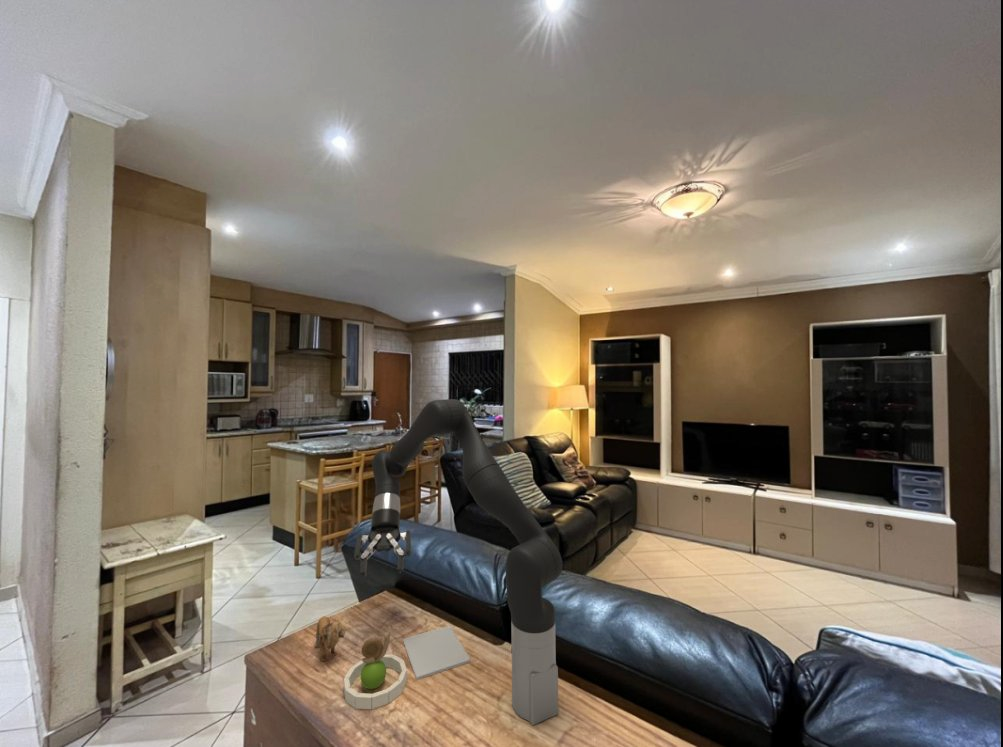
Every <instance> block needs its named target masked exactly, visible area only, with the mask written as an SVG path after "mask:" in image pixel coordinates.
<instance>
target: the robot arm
mask: <svg viewBox="0 0 1003 747" xmlns="http://www.w3.org/2000/svg"><path fill="white" fill-rule="evenodd" d="M450 434H451V435H453V436H454V437H455V439H456V440H457V441H458V443H459V445H460V447H461V450H462V477H463V478H462V479H463V482H464V484H465V486H466V488H467V489H468V491H469V493H470V495H471V496H472V497H473V499H474V500H473V501H475V502H476V504H477V505H478V506H479V507H480V508H481V509H482V510H484V511H485V512H486V513H487V514H489V515H490V516H492V517H493V518H494V519H496V520H497V521H499V522H500V523H502V525H504V526H506V528H508V529H509V531H510V532H511V533H512V534H513V536H514V537H515V539H516V540H517V542H518V545H517V546H514V547H513V548H511V549H510V550H509V552H508V553H507V556H506V559H505V560H506V562H505V582H506V583H505V584H506V596H507V597H506V598H507V599H506V600H507V605H508V608H509V611H510V616H511V617H510V620H511V623H510V624H511V625H510V626H511V642H510V643H511V644H510V645H511V704H512V705H511V706H512V708H513V710H514V712H515V714H517V715H518V717H520V718H521V719H524V720H526V721H528V722H529V723H530V724H531V725H533V726H535V725H536V724H540V722H543V721H546V720H548V719H550V718H553V717H554V716H557V715H559V671H558V670H559V668H558V665H557V661H556V659H557V658H556V656H557V655H556V609H555V606H554V604H553V603H552V602H551V601H550V600H549V599H547V598H545V597H543V594H542V589H543V588H544V587H546V586H548V585H549V584H551V583H552V582H554V581H555V580H557V579H558V578H559V577H560V576H561V574H562V572H563V559H562V555H561V553H560V551H559V549H558V547H557V545H556V544H555V543H554V541H553V540H552V539H551V537H550V535H548V533H547V532H546V530H545V529H543V527H542V526H541V525H540V523H539V522H538V521H537V519H536V517H534V516H533V514H532V513H531V512H530V510H529V509H528V508H527V505H525V503H524V501H522V499H521V497H520V496H519V495H518V493H517V492H516V490H515V488H514V487H513V485H512V483H511V481H510V480H509V479H508V477H507V475H506V474H505V472H504V470H503V469H502V468H501V467H502V466H500V464H499V463H498V462H497V460H496V459H495V457H494V456H493V454H492V453H491V451H490V450H489V447H488V446H487V444H486V443H485V441H484V439H483V437H482V436H481V435H480V432H479V431H478V429H477V426H476V425H475V423H474V420H473V418H472V417H471V414H470V413H469V410H468V409H467V408H466V406H465V404H464V403H463V402H461V401H460V400H459V399H454V398H451V399H447V398H446V399H445V398H444V399H434V400H431V401H429V402H427V404H425V406H424V407H423V408H422V409H421V411H420V412H419V414H418V415H417V417H416V418H415V420H414V421H413V423H412V424H411V426H410V427H409V429H408V431H406V433H405V434H404V435H403V436H402V437H401V438H400V439H399V440H398V441H396V442H395V443H394V444H393V445H392V447H391V448H390V451H389V450H385V449H384V450H383V449H382V450H379V451H377V452H376V453H375V454H374V456H373V458H372V461H371V464H372V465H371V467H372V468H371V470H372V473H373V478H374V482H375V483H374V484H375V494H374V502H373V505H372V515H371V523H370V532H369V534H368V535H367V534H365V535H364V534H362V533H358V534H357V536H356V541H355V546H354V553H353V556H354V559H355V560H356V561H360V565H359V566H360V567H359V572H360V575H361V576H362V578H363V577H364V578H365V577H366V576H367V570H368V560H369V559H370V557H371V556H373V555H374V553H375V552H377V553H379V552H390V551H392V550H393V553H395V554H396V555H397V568H396V570H397V571H396V572H397V574H398V575H400V574H401V572H403V571H404V565H405V564H404V562H405V558H406V557H410V556H412V542H411V540H412V539H411V531H410V529H409V530H406V531H405V532H400V516H401V482H400V480H399V479H397V478H399V477H402V476H404V475H405V474H406V471H407V469H408V467H409V465H410V463H411V462H412V461H414V459H416V457H418V456H419V455H420V454H421V453H422V451H423V450H424V448H425V447H424V446H425V442H426V440H428V439H429V438H431V437H433V436H436V435H437V436H443V435H450ZM400 539H402V541H403V542H405V548H406V549H404V550H403V549H402V548H401V546H400V544H399V543H398V542H399V541H400ZM367 541H368V542H369V545H367V547H366V548H365V550H364V551H363V553H362V548H363V545H365V544H366V542H367Z"/></svg>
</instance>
